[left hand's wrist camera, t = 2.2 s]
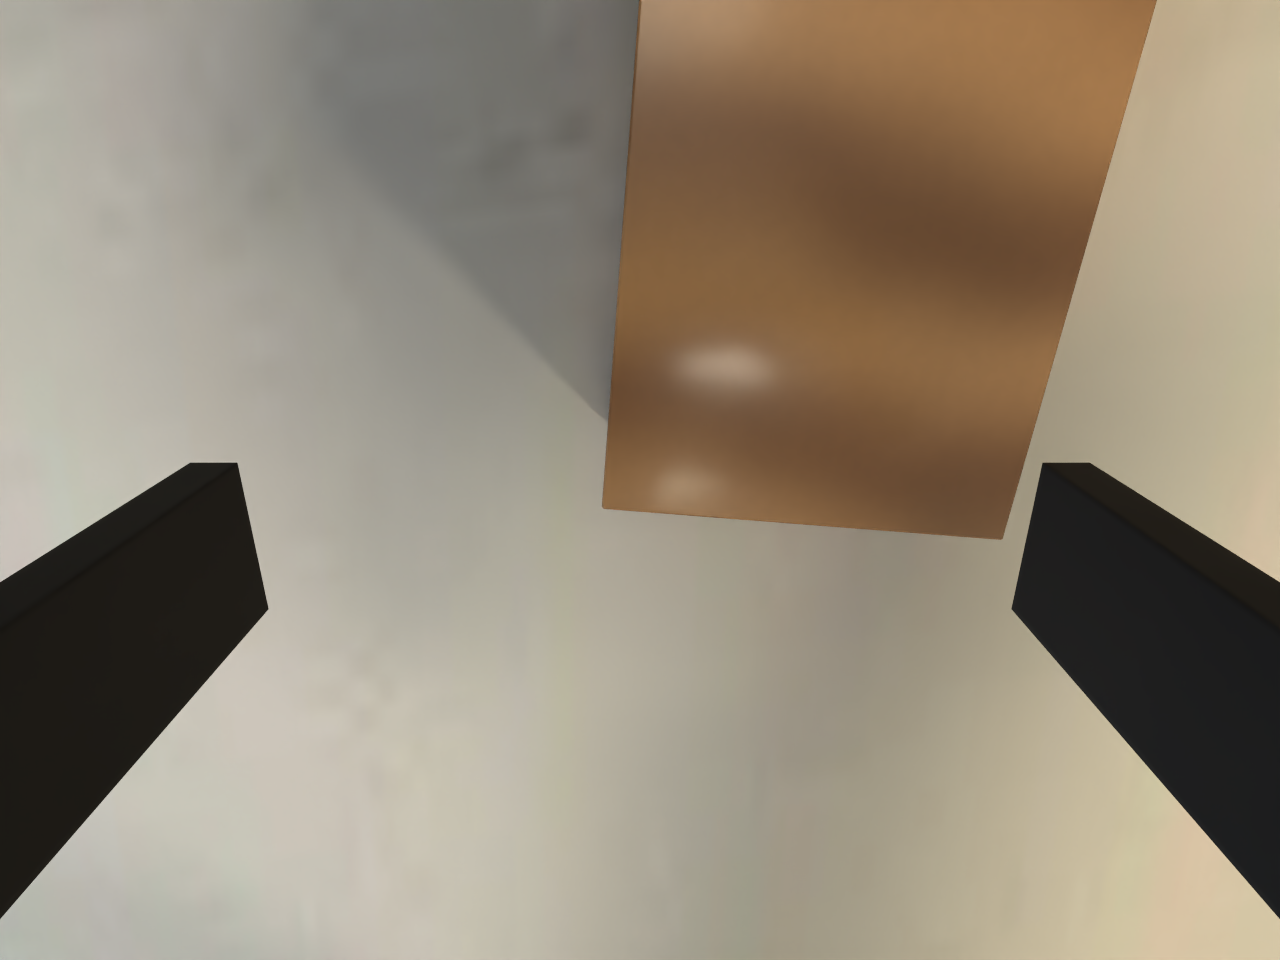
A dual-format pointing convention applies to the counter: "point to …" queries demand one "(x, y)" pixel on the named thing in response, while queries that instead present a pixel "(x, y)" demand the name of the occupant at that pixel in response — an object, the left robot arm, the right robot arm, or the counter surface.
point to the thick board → (854, 251)
